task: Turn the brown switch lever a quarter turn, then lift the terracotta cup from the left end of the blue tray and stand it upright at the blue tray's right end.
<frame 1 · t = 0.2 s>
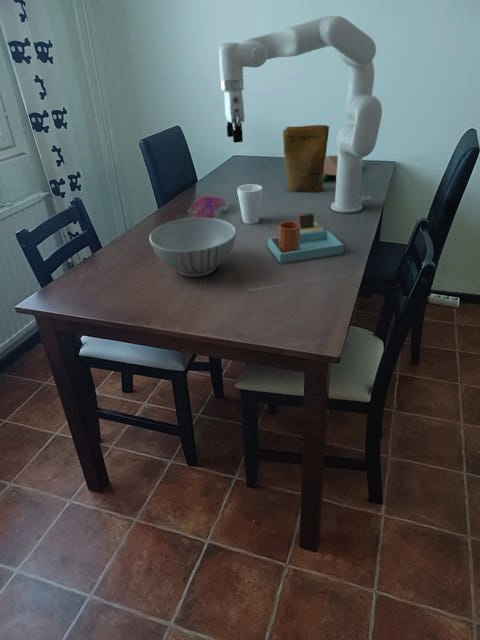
hand: (234, 139, 167), 31 cm above the table, tool pointing down, fingers open, 9 cm apart
pink plastic packet: (207, 216, 192), on the table
pancake mix bag: (304, 191, 213), on the table
blue tray: (304, 250, 159), on the table
foam cup: (251, 221, 185), on the table
switch panel: (303, 235, 170), on the table
decorative bowl: (196, 268, 153), on the table
house: (328, 174, 234), on the table
brown switch lever: (306, 220, 168), point 5 cm above the table, hinge at 0.0°
cup: (289, 252, 158), resting on blue tray
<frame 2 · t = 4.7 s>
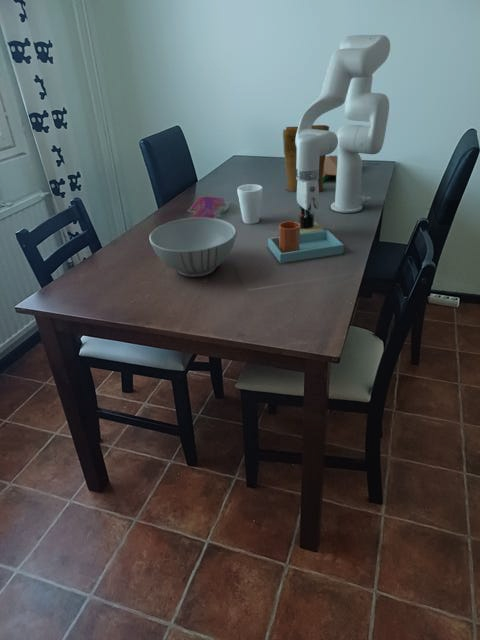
hand: (306, 225, 169), 4 cm above the table, tool pointing down, fingers closed on brown switch lever, 2 cm apart
brown switch lever: (306, 220, 168), point 5 cm above the table, hinge at 1.1°, touching gripper
everything else where it was.
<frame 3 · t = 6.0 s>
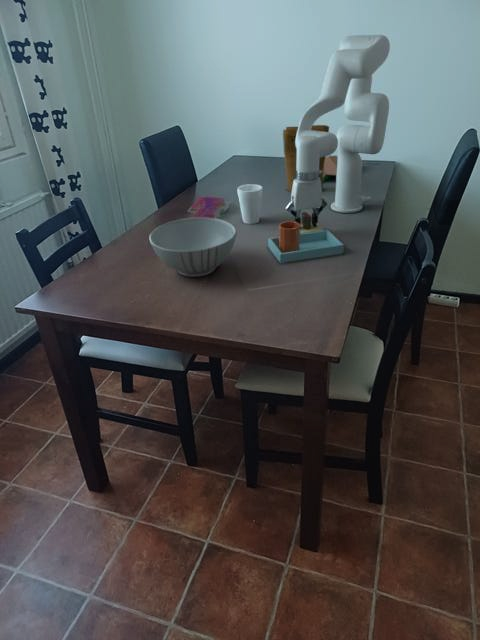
hand: (306, 225, 169), 3 cm above the table, tool pointing down, fingers open, 5 cm apart
brown switch lever: (306, 220, 168), point 5 cm above the table, hinge at 90.5°
everything else where it was.
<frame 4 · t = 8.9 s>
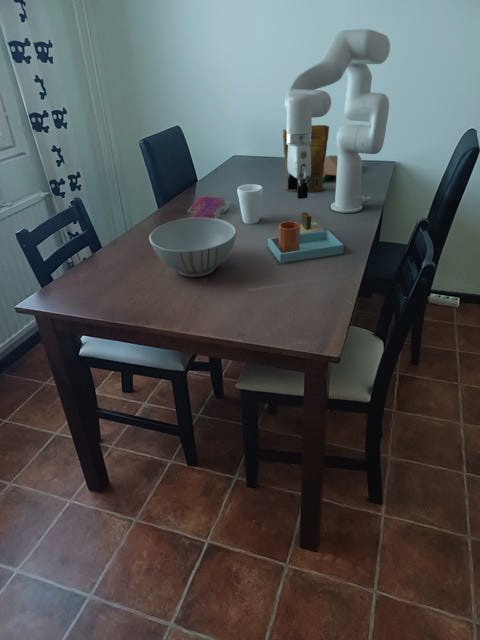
hand: (297, 193, 154), 18 cm above the table, tool pointing down, fingers open, 9 cm apart
nothing on the table moved.
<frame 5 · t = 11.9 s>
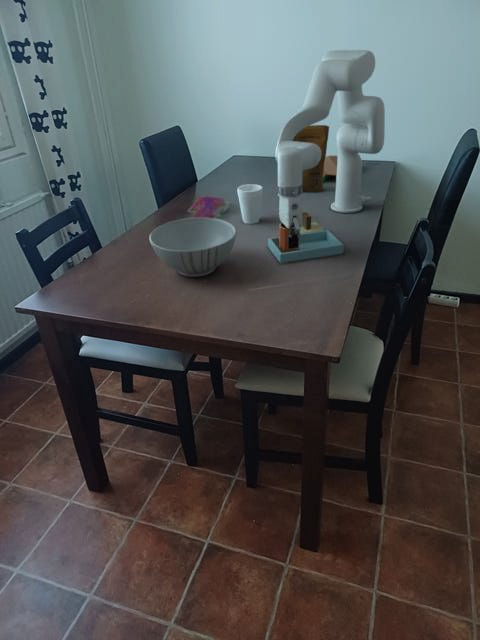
hand: (289, 242, 156), 4 cm above the table, tool pointing down, fingers closed on cup, 6 cm apart
cup: (289, 252, 158), resting on blue tray, touching gripper
everything else where it was.
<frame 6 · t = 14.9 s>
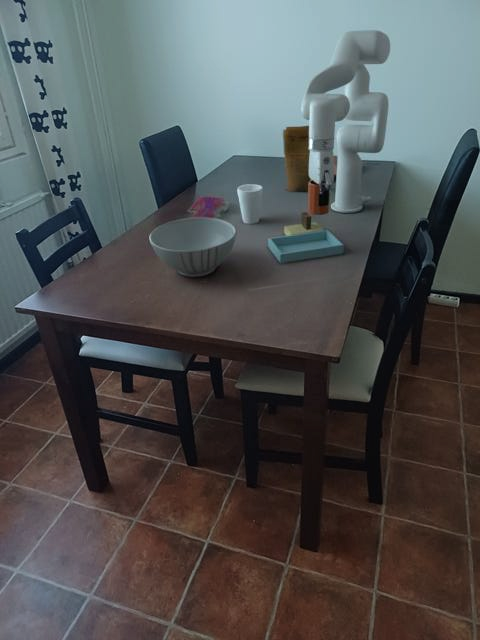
hand: (318, 201, 151), 17 cm above the table, tool pointing down, fingers closed on cup, 6 cm apart
cup: (318, 211, 153), point 13 cm above the table, touching gripper
everything else where it was.
when the fingers open (4 cm above the table, at t = 18.3 s): cup stays where it is, resting on blue tray.
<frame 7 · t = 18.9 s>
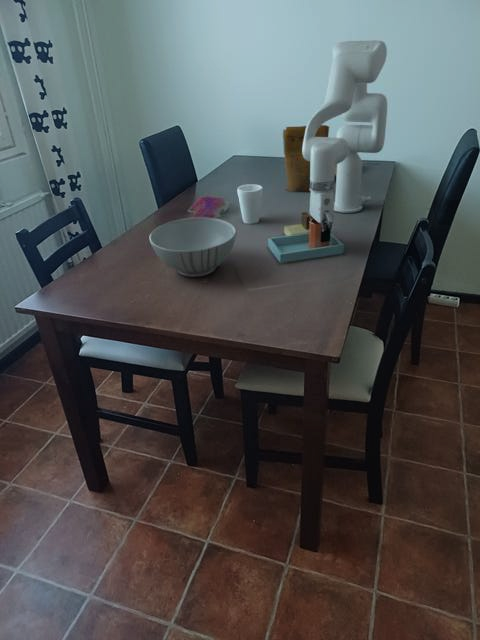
hand: (319, 236, 158), 5 cm above the table, tool pointing down, fingers open, 9 cm apart
cup: (318, 247, 160), resting on blue tray
everything else where it was.
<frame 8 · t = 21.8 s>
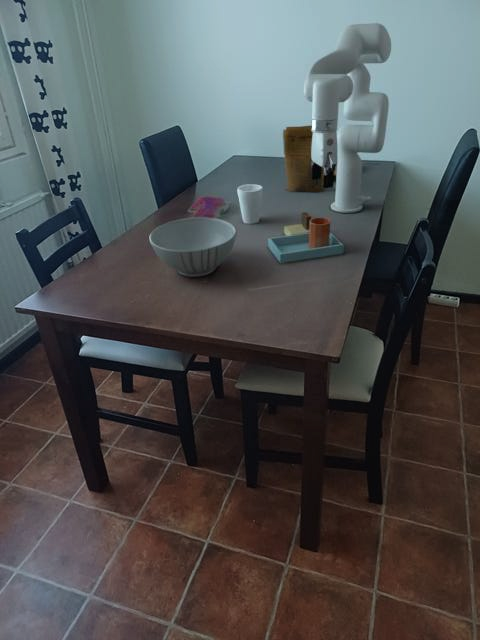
hand: (321, 183, 148), 22 cm above the table, tool pointing down, fingers open, 9 cm apart
nothing on the table moved.
at the end: brown switch lever at +90° (first picture: +0°); cup inside the target area in the blue tray (0.5 cm from its centre), point 0.4 cm above the blue tray's base; cup tilted 0° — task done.
